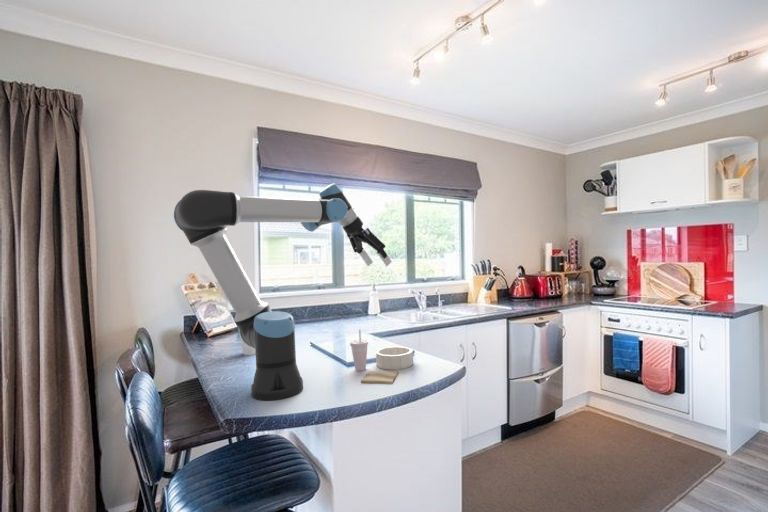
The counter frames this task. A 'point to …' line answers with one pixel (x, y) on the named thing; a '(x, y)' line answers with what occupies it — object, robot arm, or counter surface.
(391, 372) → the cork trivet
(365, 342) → the smoothie
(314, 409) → the counter surface
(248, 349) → the foam cup
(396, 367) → the bowl
